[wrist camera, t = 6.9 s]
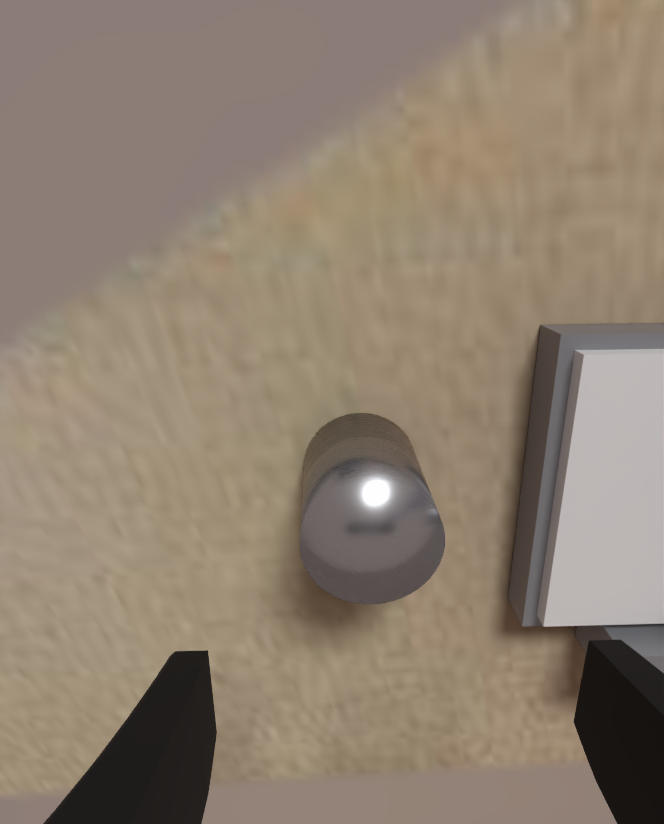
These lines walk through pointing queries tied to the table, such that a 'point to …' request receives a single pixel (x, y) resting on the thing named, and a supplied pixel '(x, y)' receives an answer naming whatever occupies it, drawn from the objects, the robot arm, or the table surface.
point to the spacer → (367, 512)
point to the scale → (595, 487)
